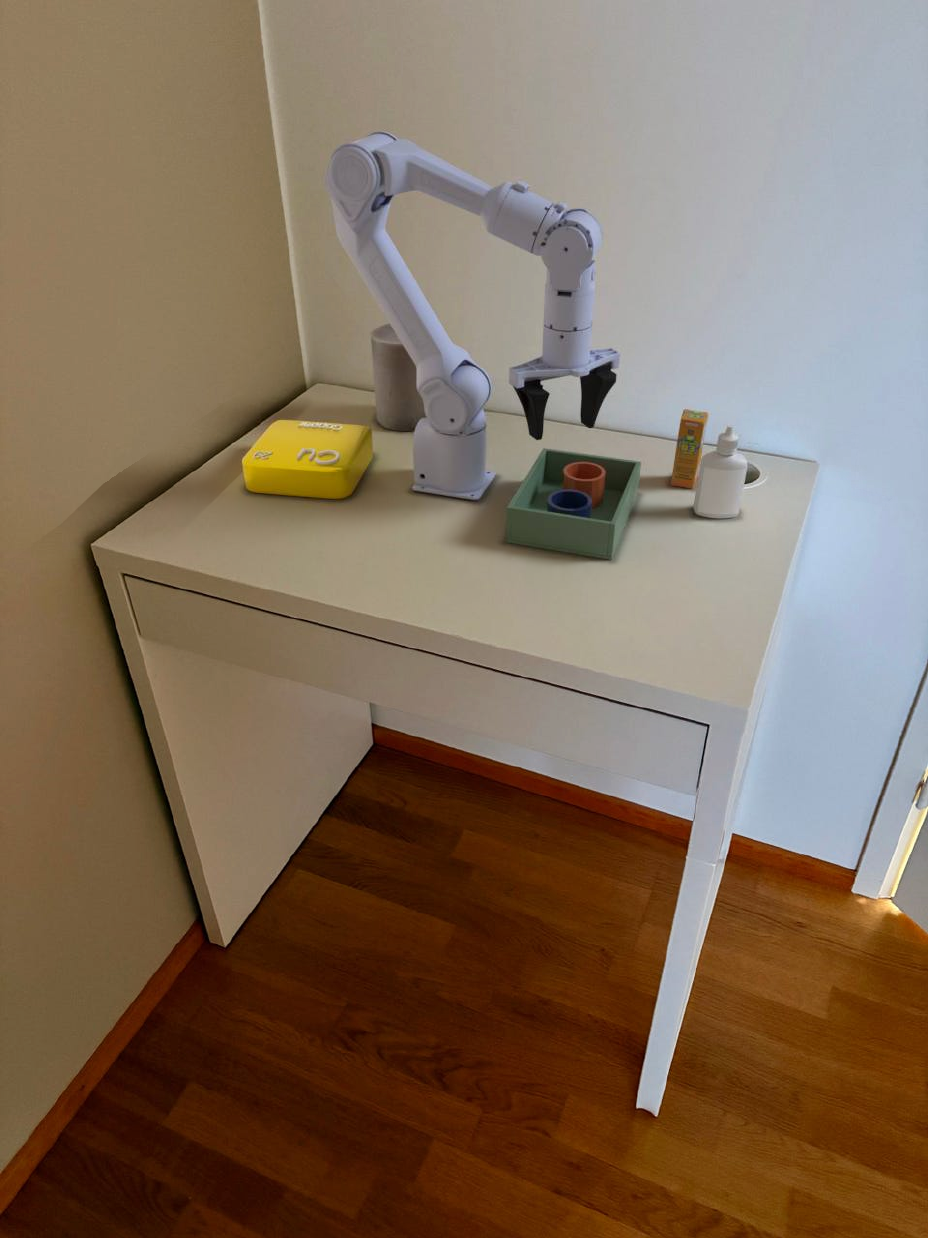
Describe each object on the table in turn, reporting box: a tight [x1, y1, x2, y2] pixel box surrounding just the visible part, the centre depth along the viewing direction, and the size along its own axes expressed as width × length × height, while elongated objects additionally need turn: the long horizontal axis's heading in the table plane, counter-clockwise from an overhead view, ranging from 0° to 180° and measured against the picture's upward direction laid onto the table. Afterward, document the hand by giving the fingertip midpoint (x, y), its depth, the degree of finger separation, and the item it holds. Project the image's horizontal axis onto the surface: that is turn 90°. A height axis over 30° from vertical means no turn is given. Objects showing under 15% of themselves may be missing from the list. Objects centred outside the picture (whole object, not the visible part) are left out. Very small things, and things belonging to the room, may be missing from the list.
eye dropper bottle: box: [693, 424, 748, 519], centre depth 115 cm, size 4×6×12 cm
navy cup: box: [546, 489, 592, 518], centre depth 113 cm, size 5×5×4 cm
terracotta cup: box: [562, 462, 606, 509], centre depth 119 cm, size 5×5×4 cm
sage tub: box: [505, 447, 642, 561], centre depth 116 cm, size 13×17×5 cm
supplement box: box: [670, 408, 709, 489], centre depth 122 cm, size 3×3×10 cm
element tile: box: [241, 419, 374, 500], centre depth 127 cm, size 15×15×5 cm
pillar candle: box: [369, 322, 427, 432], centre depth 139 cm, size 10×10×15 cm
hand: (561, 430), depth 116 cm, fingers open, 7 cm apart
